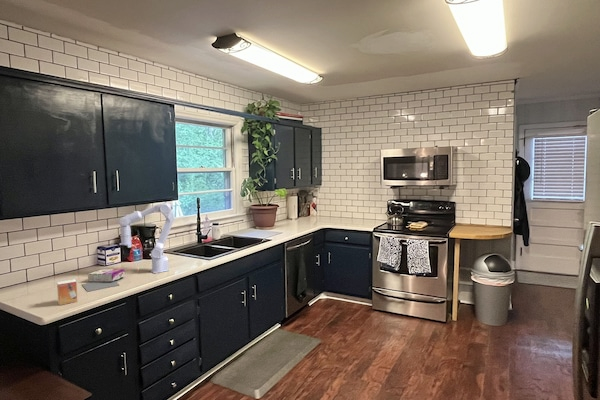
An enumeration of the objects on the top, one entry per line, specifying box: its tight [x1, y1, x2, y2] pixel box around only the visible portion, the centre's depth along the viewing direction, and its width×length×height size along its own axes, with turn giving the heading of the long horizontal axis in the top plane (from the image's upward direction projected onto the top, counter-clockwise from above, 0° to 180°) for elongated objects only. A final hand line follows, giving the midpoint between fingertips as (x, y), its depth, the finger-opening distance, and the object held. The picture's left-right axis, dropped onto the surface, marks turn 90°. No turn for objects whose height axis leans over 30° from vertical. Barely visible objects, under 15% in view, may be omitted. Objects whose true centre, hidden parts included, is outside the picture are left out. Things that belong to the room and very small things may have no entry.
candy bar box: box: [87, 268, 126, 283], centre depth 221 cm, size 11×5×16 cm
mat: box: [81, 280, 120, 293], centre depth 212 cm, size 16×16×1 cm
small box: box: [56, 278, 78, 306], centre depth 185 cm, size 8×6×10 cm
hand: (127, 257), depth 233 cm, fingers closed
